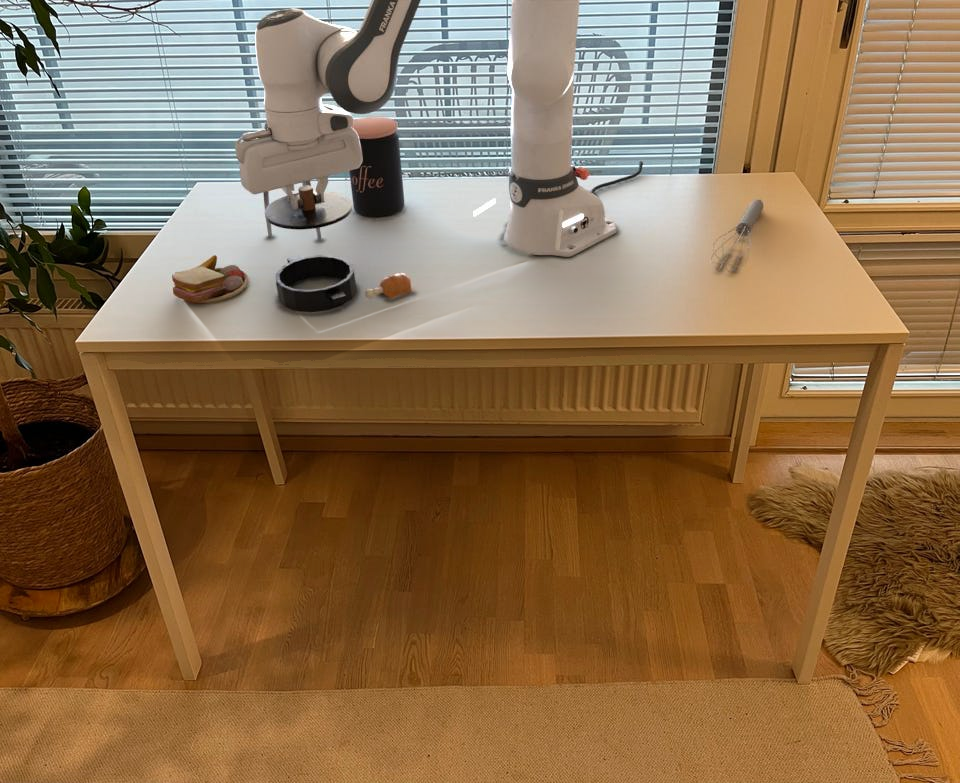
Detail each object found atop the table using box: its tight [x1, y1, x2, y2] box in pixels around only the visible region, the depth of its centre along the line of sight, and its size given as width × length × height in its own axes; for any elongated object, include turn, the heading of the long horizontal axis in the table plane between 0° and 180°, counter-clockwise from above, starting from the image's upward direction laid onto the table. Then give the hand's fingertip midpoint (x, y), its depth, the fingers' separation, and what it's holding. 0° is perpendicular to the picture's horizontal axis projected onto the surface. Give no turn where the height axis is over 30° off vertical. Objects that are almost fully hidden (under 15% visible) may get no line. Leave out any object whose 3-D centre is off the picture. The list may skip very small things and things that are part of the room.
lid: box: [264, 185, 353, 231], centre depth 144 cm, size 14×14×5 cm
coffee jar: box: [348, 116, 405, 219], centre depth 177 cm, size 11×11×18 cm
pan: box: [275, 254, 358, 313], centre depth 151 cm, size 13×19×4 cm
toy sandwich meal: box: [171, 254, 250, 304], centre depth 154 cm, size 12×14×5 cm
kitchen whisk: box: [710, 198, 764, 274], centre depth 163 cm, size 6×34×6 cm, turn 155°
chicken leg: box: [364, 272, 412, 299], centre depth 150 cm, size 9×4×4 cm, turn 124°
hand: (308, 205), depth 144 cm, fingers closed on lid, 2 cm apart
